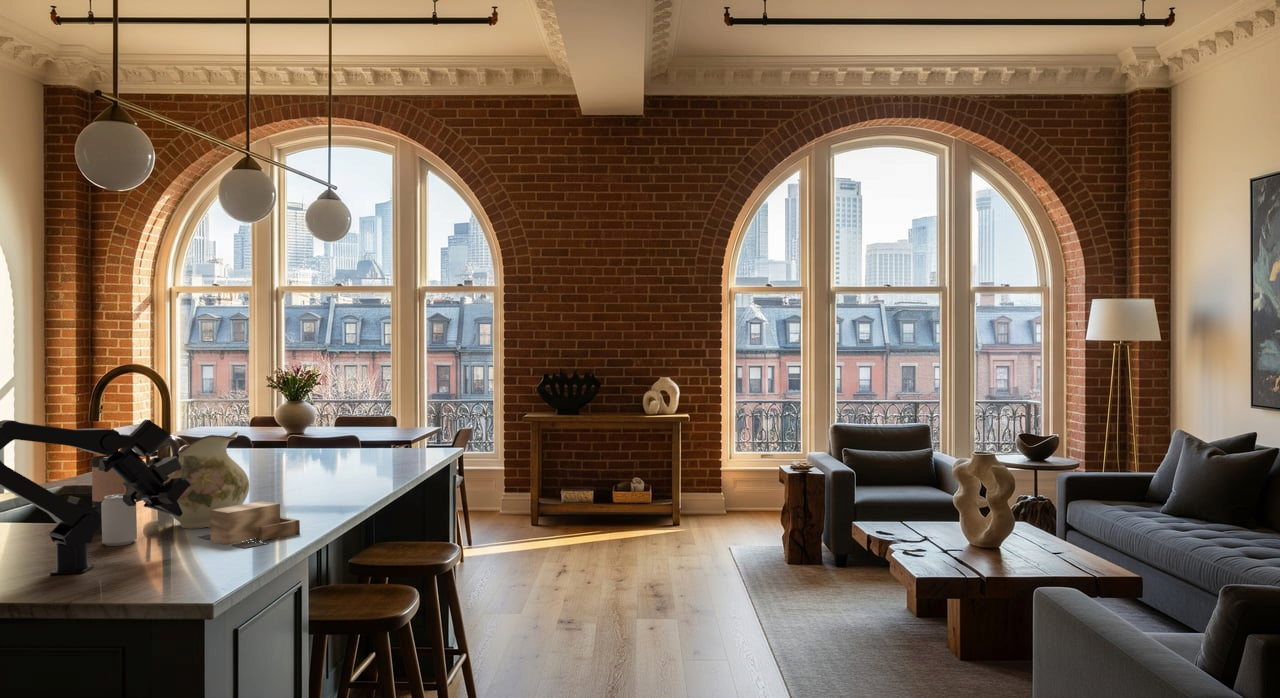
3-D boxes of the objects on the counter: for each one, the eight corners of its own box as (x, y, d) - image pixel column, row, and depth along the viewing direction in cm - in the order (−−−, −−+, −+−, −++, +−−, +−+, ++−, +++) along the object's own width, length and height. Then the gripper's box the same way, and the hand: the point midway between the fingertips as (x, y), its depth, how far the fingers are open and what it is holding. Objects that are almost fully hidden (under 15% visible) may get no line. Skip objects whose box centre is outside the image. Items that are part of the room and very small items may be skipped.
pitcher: (248, 527, 235) (245, 433, 235) (148, 536, 226) (145, 439, 226) (251, 513, 256) (249, 428, 256) (160, 521, 247) (157, 433, 247)
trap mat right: (244, 548, 210) (244, 547, 210) (231, 545, 213) (231, 544, 213) (268, 543, 214) (268, 542, 214) (255, 540, 218) (255, 540, 218)
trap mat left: (209, 540, 220) (209, 539, 220) (197, 537, 224) (197, 536, 224) (232, 535, 225) (232, 534, 225) (221, 532, 229) (221, 532, 229)
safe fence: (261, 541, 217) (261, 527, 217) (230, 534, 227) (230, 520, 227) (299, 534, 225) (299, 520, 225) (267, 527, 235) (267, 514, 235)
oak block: (228, 545, 214) (228, 512, 214) (210, 542, 219) (210, 509, 219) (280, 534, 226) (279, 503, 226) (262, 531, 230) (261, 501, 230)
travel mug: (88, 535, 229) (87, 458, 229) (98, 529, 236) (96, 455, 236) (121, 533, 231) (120, 457, 231) (130, 527, 238) (128, 453, 238)
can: (121, 547, 214) (119, 498, 214) (94, 546, 216) (93, 497, 215) (144, 540, 221) (143, 492, 221) (118, 539, 223) (117, 492, 223)
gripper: (182, 442, 202) (226, 487, 211) (135, 447, 212) (179, 491, 220) (148, 478, 195) (196, 524, 203) (101, 482, 204) (148, 526, 212)
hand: (180, 515), depth 210 cm, fingers closed
